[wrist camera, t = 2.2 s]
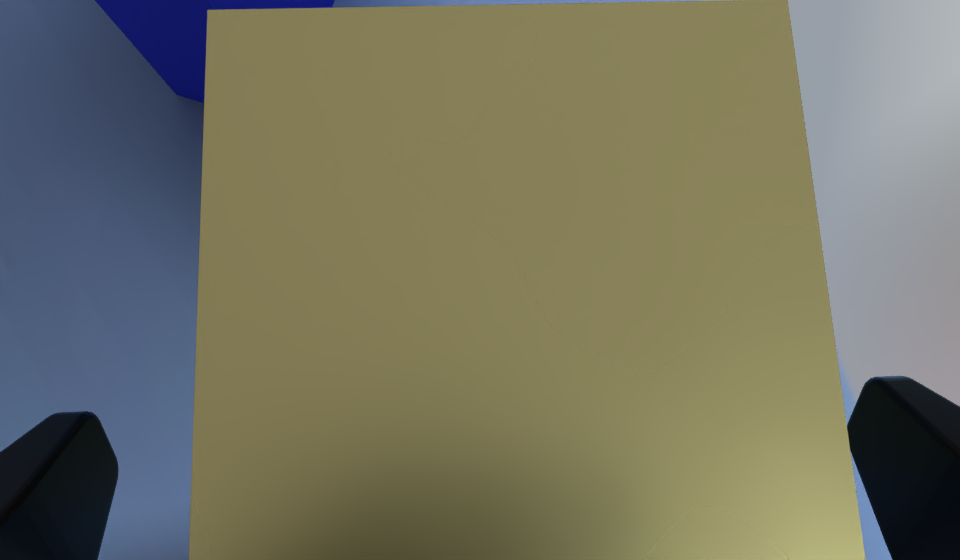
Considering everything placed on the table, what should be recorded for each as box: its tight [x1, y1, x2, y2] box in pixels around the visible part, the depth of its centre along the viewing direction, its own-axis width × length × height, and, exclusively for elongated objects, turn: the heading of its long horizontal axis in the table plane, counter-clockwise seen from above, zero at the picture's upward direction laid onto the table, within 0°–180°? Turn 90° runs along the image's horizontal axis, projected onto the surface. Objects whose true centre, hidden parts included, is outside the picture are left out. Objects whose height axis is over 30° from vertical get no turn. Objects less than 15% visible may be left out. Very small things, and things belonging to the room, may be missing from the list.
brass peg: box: [189, 0, 865, 560], centre depth 11 cm, size 4×4×13 cm
